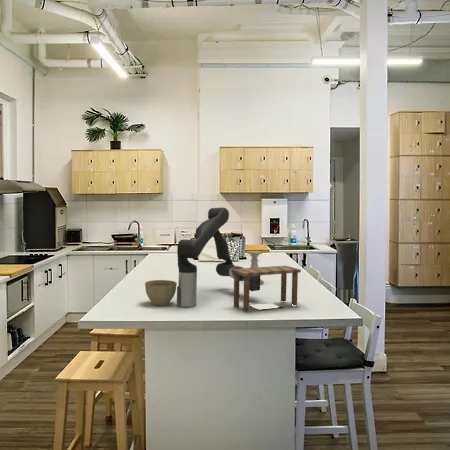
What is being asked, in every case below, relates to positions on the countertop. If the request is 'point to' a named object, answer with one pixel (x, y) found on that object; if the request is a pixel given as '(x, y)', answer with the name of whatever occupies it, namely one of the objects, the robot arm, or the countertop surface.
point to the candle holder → (255, 260)
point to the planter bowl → (160, 291)
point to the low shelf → (264, 271)
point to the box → (254, 283)
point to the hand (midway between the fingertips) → (253, 278)
